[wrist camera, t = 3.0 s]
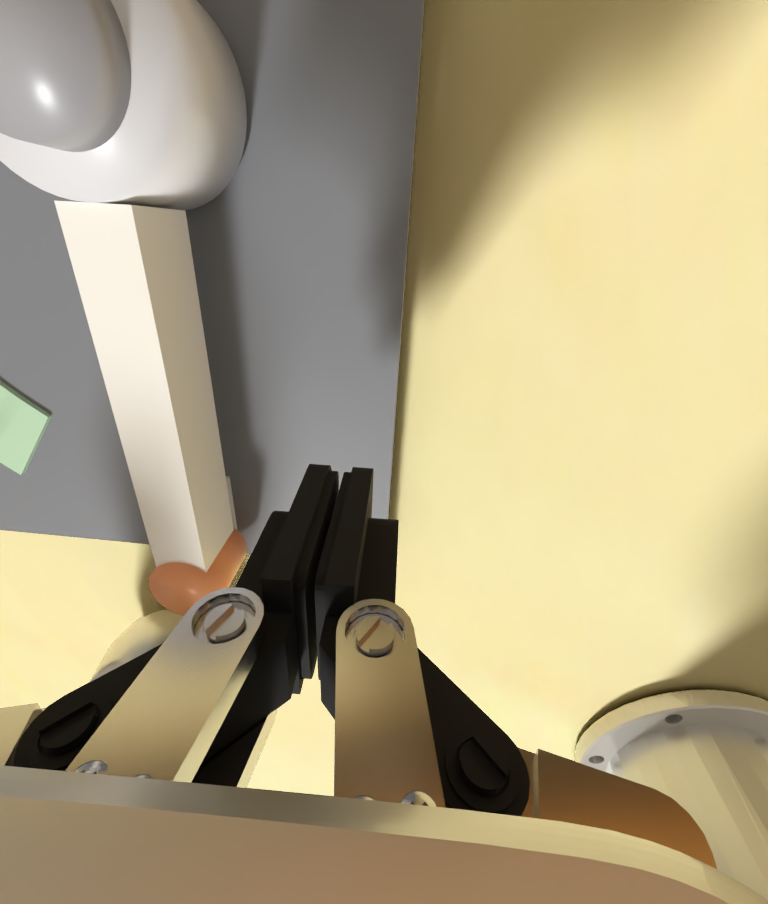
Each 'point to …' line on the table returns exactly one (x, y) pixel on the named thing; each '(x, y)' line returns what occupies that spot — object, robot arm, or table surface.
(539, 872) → the robot arm
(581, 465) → the table surface
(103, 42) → the white bar with knob
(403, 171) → the dial board
